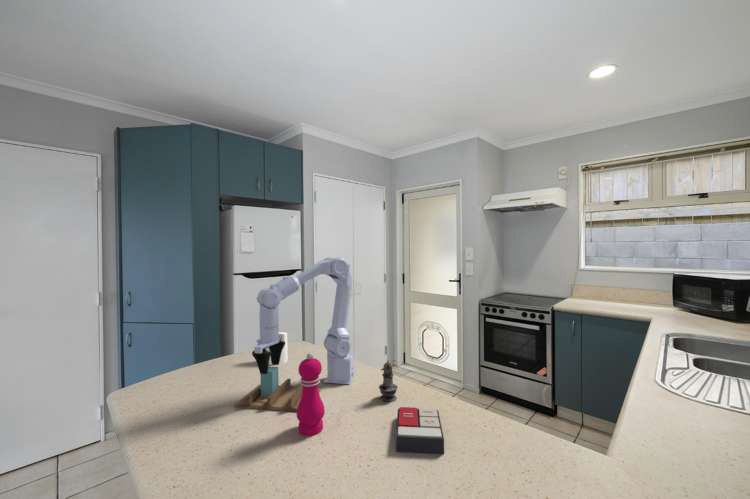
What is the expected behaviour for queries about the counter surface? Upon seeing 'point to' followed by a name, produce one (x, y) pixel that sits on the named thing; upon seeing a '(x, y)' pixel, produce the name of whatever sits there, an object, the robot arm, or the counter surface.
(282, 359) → the cylinder with rectangular tab
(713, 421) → the counter surface
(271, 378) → the plug block
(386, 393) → the dark grey tall piece
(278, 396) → the slot rack
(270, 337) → the robot arm
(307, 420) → the pepper mill
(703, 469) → the counter surface
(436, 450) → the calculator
